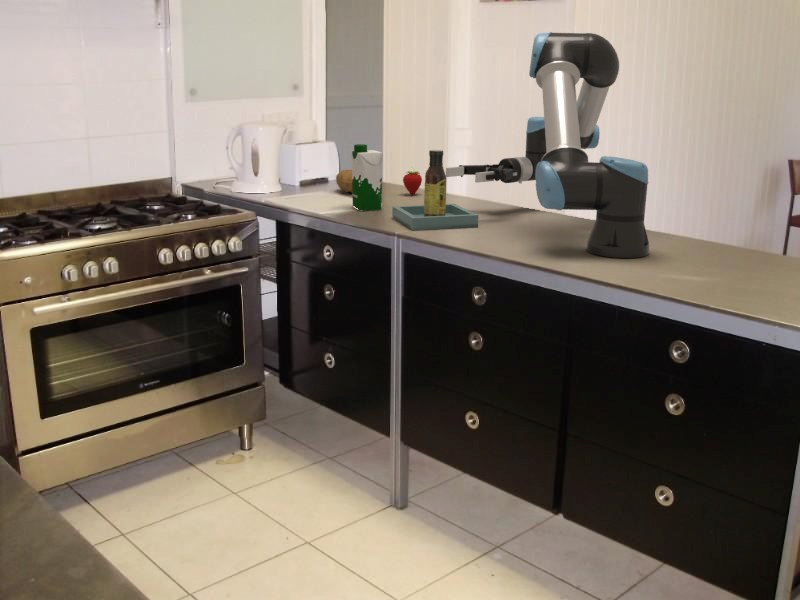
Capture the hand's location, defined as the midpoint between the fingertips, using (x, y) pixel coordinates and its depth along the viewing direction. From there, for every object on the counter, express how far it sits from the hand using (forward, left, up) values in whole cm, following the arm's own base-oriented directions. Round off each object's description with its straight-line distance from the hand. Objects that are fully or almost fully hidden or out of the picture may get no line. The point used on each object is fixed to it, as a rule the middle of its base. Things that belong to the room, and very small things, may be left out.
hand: (460, 175), depth 255 cm
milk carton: (+24, +22, -13) cm, 35 cm away
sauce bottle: (-3, +9, -12) cm, 16 cm away
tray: (-3, +9, -13) cm, 16 cm away
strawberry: (+46, 0, -13) cm, 48 cm away
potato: (+57, +19, -13) cm, 61 cm away
